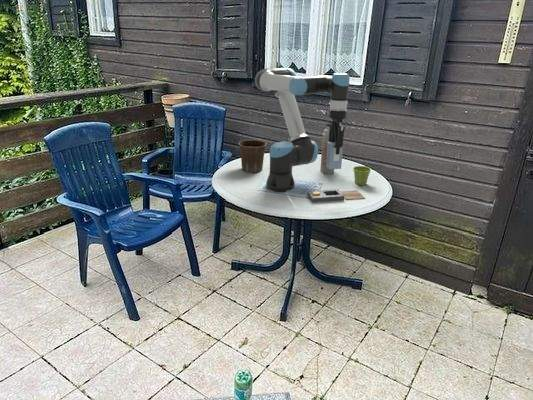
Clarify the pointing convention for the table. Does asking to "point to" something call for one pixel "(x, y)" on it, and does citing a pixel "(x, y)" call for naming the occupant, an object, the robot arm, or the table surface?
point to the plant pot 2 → (361, 174)
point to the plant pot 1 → (252, 155)
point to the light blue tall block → (329, 161)
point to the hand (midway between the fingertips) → (334, 158)
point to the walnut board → (352, 195)
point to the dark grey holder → (325, 195)
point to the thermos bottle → (325, 151)
